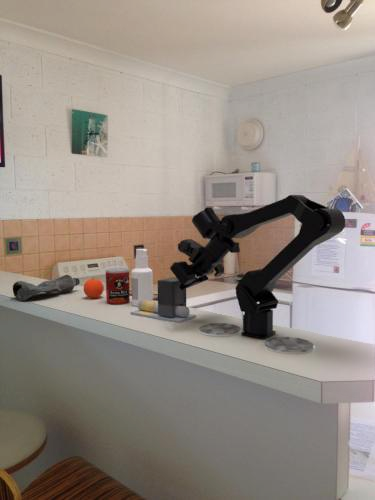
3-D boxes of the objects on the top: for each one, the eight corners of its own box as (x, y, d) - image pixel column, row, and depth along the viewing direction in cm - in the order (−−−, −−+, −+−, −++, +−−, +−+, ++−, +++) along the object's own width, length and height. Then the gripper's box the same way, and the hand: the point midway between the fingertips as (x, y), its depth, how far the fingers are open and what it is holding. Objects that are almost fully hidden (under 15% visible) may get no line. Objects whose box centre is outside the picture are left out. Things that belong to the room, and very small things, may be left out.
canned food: (107, 305, 149) (106, 271, 148) (105, 300, 156) (104, 268, 155) (131, 304, 151) (130, 270, 150) (127, 299, 158) (127, 267, 157)
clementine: (102, 294, 166) (101, 275, 166) (110, 298, 161) (109, 277, 160) (80, 297, 162) (80, 277, 161) (88, 300, 156) (87, 280, 156)
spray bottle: (141, 301, 155) (140, 247, 153) (157, 303, 151) (156, 248, 149) (127, 305, 149) (126, 249, 147) (143, 307, 145) (142, 250, 143)
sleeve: (186, 312, 134) (186, 278, 133) (171, 317, 128) (171, 282, 127) (172, 310, 137) (172, 277, 136) (158, 314, 131) (157, 280, 130)
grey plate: (196, 317, 133) (196, 304, 132) (179, 322, 126) (179, 309, 126) (148, 309, 143) (148, 297, 143) (130, 314, 137) (130, 302, 136)
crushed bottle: (24, 303, 153) (89, 291, 170) (21, 282, 152) (87, 272, 170) (7, 301, 162) (70, 290, 179) (5, 281, 162) (69, 271, 179)
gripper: (215, 228, 133) (184, 263, 140) (175, 231, 118) (143, 270, 125) (239, 257, 129) (206, 291, 136) (201, 264, 114) (166, 303, 121)
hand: (181, 288), depth 130 cm, fingers closed
